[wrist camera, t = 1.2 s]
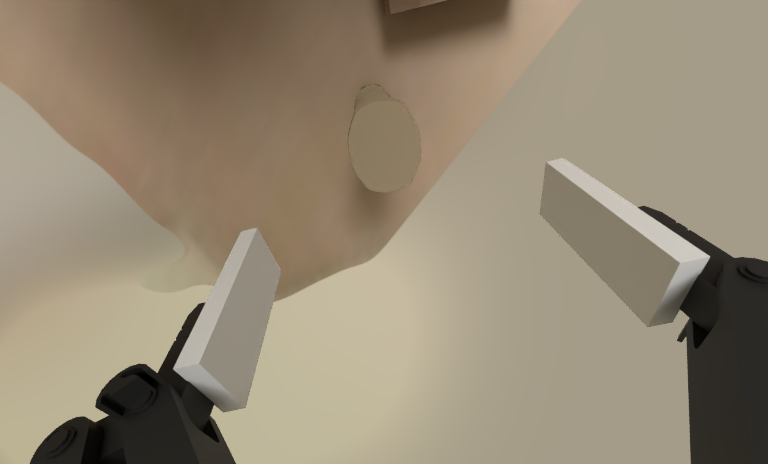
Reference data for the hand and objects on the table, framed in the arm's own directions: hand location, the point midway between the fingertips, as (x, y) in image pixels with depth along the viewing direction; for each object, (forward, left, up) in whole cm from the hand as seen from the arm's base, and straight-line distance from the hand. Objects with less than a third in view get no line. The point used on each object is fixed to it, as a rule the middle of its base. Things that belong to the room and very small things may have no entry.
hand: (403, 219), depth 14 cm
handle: (0, 0, -24) cm, 24 cm away
